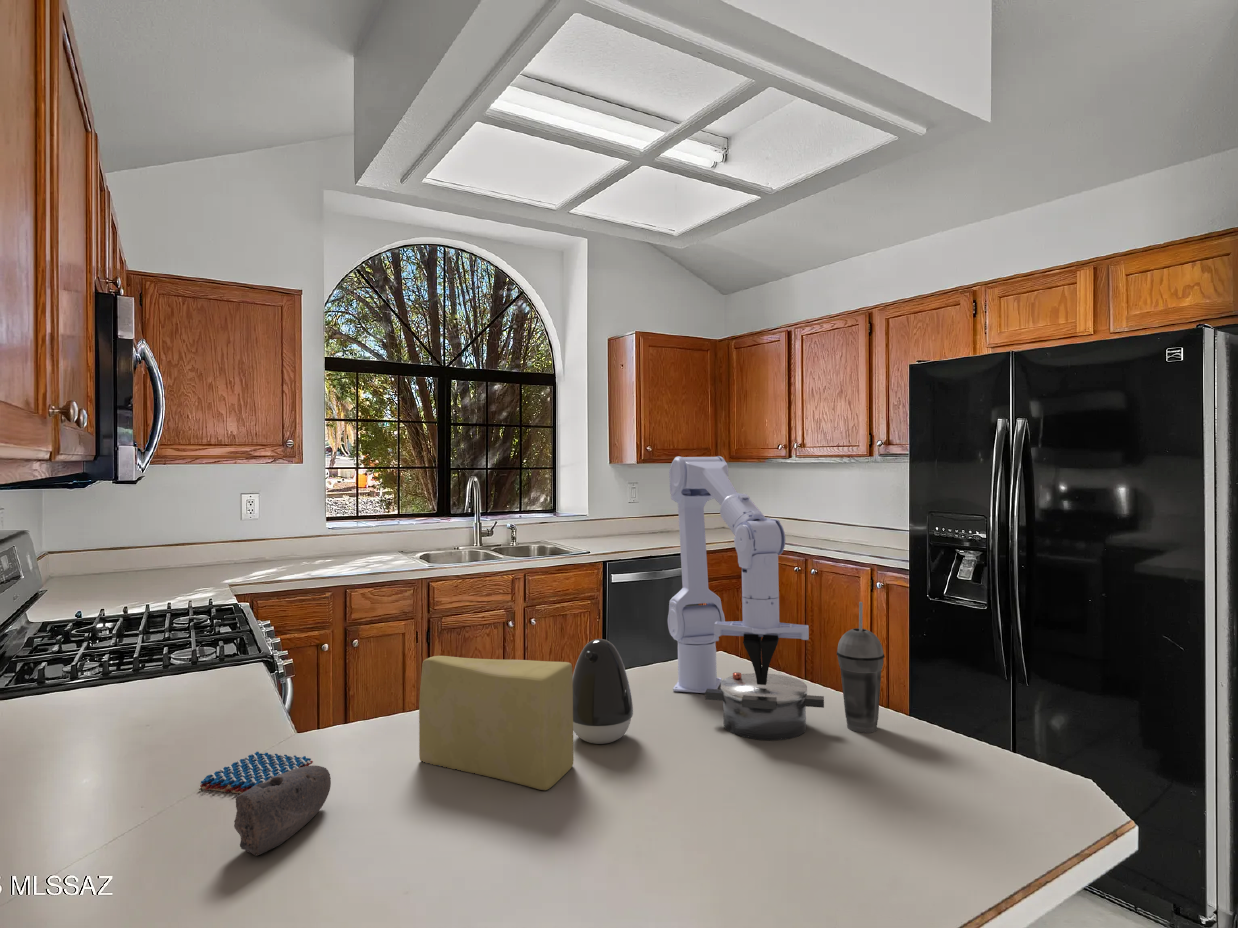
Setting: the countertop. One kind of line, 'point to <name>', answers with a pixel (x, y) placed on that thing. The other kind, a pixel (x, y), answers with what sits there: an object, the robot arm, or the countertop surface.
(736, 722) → the cooker pot
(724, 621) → the robot arm
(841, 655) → the beverage cup
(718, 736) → the countertop surface
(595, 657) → the black white egg shape
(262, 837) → the perforated stone tool
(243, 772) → the woven mat
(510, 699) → the cheese
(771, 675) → the cooker lid
